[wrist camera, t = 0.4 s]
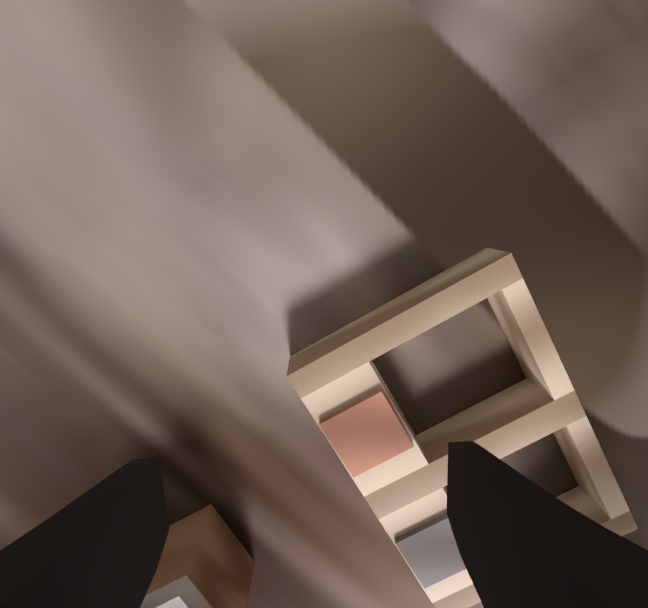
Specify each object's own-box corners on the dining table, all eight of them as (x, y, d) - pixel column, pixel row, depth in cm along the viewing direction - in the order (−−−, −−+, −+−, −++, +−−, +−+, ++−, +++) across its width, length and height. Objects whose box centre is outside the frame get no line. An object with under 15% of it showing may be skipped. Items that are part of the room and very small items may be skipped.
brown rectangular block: (254, 560, 23) (236, 665, 18) (189, 593, 24) (153, 705, 18) (211, 503, 22) (178, 596, 17) (144, 538, 23) (92, 639, 17)
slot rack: (603, 494, 23) (643, 533, 20) (429, 577, 24) (444, 625, 21) (486, 247, 19) (515, 253, 16) (290, 356, 20) (286, 379, 18)
